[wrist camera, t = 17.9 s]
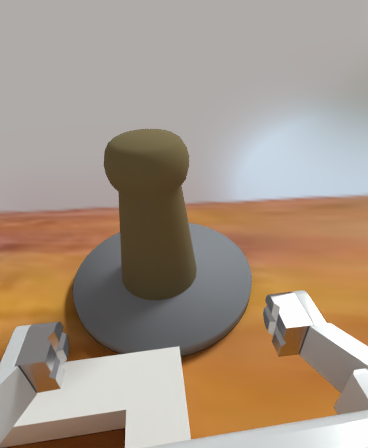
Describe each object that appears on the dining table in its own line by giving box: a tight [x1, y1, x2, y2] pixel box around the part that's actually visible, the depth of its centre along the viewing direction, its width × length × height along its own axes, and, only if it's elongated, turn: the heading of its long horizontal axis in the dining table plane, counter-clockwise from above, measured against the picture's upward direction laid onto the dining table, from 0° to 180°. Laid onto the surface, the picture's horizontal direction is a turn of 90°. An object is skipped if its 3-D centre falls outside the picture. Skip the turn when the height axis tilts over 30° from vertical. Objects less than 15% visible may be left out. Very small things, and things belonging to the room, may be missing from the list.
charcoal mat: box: [73, 223, 252, 357], centre depth 23 cm, size 14×14×1 cm
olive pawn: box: [104, 129, 197, 300], centre depth 20 cm, size 6×6×11 cm
